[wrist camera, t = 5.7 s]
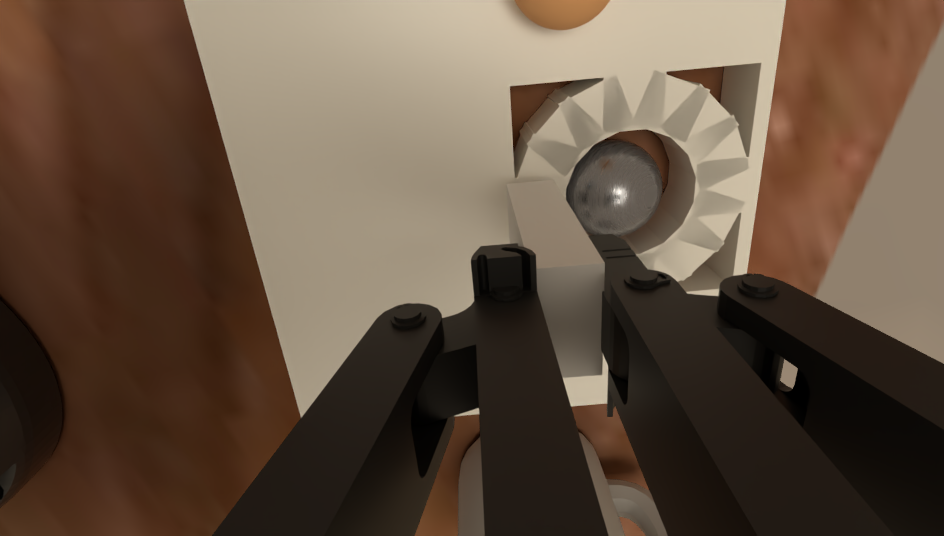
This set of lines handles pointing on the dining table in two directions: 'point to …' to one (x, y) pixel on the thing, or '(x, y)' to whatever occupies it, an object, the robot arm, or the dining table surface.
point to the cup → (611, 494)
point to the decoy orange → (561, 12)
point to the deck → (468, 145)
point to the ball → (614, 188)
